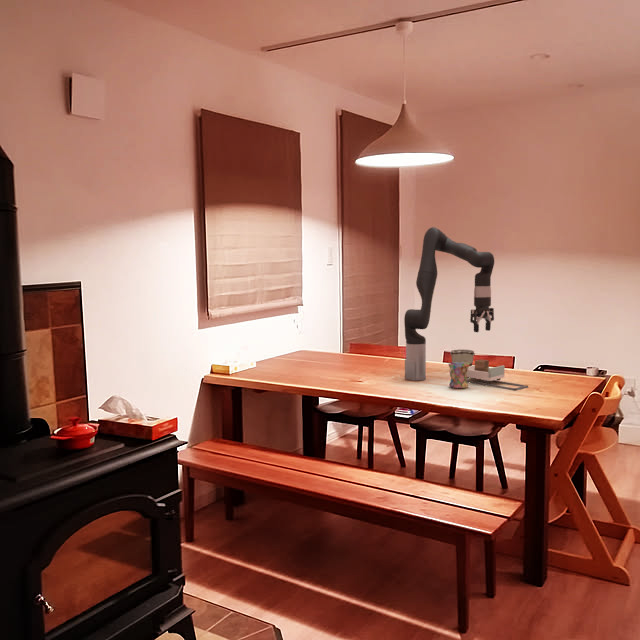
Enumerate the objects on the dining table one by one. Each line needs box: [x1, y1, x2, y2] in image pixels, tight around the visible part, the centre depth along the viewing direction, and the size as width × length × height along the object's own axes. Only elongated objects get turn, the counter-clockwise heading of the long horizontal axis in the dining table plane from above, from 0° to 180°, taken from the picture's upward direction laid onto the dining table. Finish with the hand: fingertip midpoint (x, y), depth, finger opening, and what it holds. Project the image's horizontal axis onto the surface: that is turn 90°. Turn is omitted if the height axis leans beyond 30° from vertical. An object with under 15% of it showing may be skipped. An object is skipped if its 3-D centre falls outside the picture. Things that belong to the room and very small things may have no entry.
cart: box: [467, 364, 506, 384], centre depth 296 cm, size 11×17×7 cm, turn 40°
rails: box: [467, 377, 529, 391], centre depth 293 cm, size 10×32×1 cm, turn 40°
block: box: [474, 359, 490, 372], centre depth 296 cm, size 4×4×6 cm
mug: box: [447, 361, 470, 389], centre depth 285 cm, size 12×9×11 cm
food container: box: [449, 349, 476, 366], centre depth 328 cm, size 12×6×10 cm, turn 84°
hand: (482, 331), depth 294 cm, fingers open, 8 cm apart
